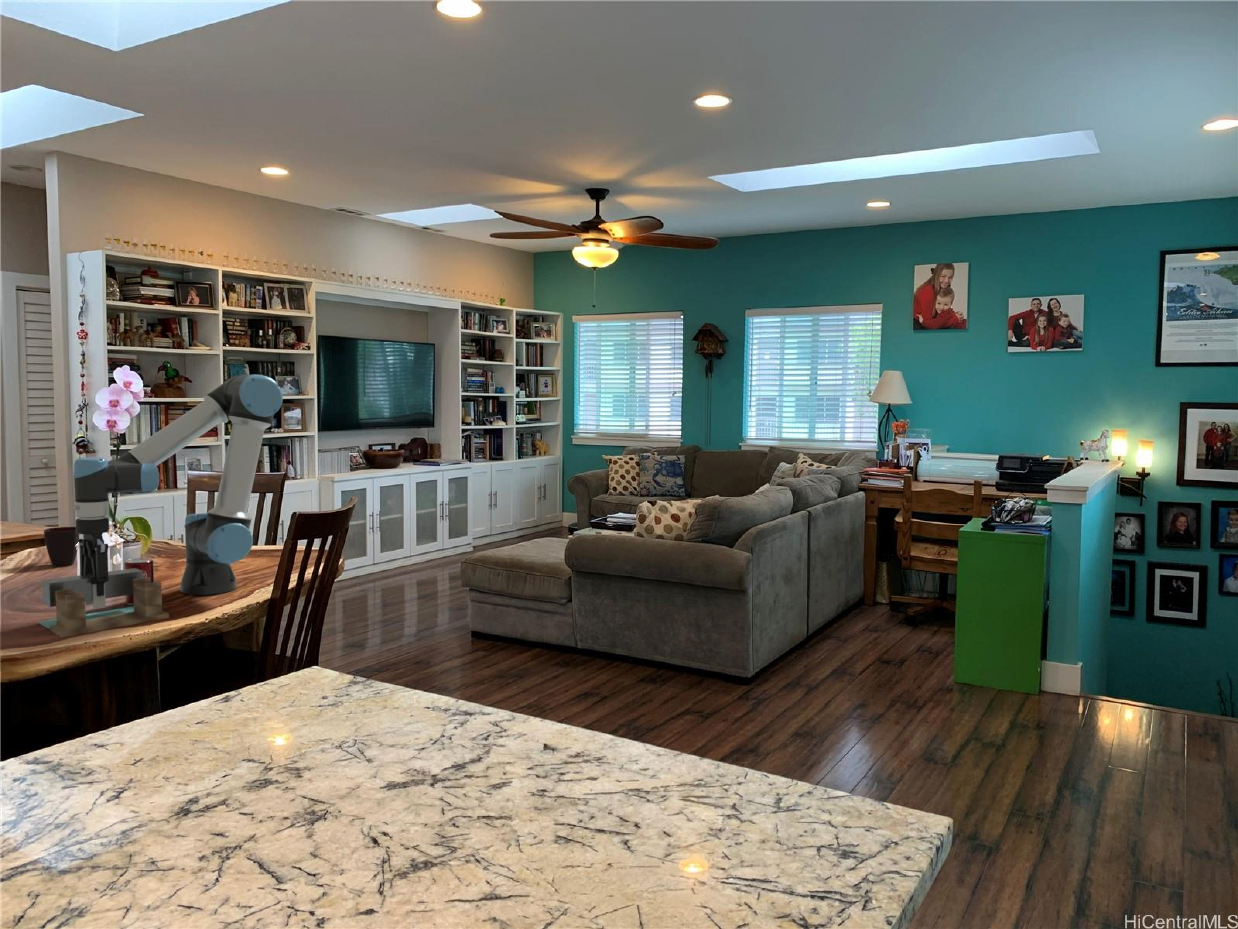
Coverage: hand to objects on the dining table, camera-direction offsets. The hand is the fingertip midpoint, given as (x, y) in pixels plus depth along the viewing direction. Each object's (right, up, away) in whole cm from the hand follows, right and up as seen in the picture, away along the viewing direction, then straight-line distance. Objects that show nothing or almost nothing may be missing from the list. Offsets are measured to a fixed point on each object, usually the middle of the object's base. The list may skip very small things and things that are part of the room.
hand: (95, 605), depth 234 cm
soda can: (+3, -2, +16) cm, 17 cm away
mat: (0, -3, 0) cm, 3 cm away
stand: (+8, -4, -6) cm, 10 cm away
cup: (-49, +3, +67) cm, 83 cm away
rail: (0, +2, 0) cm, 2 cm away
